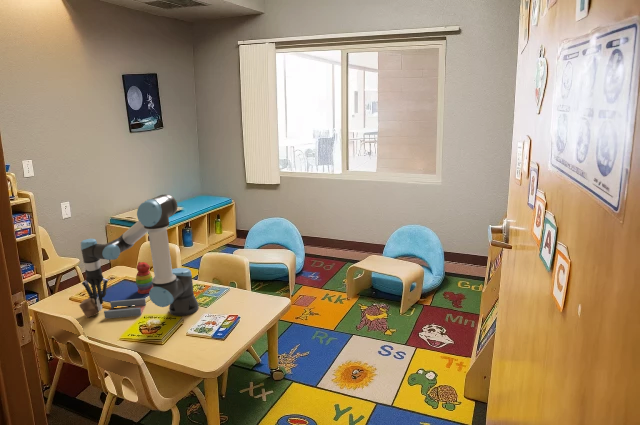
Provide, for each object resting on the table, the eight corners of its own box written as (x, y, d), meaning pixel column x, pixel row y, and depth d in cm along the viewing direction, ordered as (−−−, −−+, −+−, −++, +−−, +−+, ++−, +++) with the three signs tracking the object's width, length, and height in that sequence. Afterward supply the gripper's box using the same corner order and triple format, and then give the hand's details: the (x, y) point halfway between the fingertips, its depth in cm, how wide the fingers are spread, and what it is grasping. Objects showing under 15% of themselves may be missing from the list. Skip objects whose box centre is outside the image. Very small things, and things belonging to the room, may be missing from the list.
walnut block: (101, 308, 249) (93, 295, 246) (97, 313, 243) (89, 300, 241) (91, 312, 249) (83, 300, 246) (86, 317, 243) (79, 305, 241)
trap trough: (146, 304, 255) (145, 298, 254) (140, 315, 243) (139, 308, 242) (112, 307, 253) (110, 301, 252) (105, 318, 241) (103, 311, 240)
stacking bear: (158, 290, 274) (155, 262, 269) (142, 295, 267) (138, 267, 262) (150, 285, 281) (146, 257, 276) (134, 290, 274) (129, 262, 269)
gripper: (108, 264, 244) (114, 305, 250) (82, 266, 242) (90, 307, 249) (103, 270, 237) (110, 311, 243) (77, 272, 235) (85, 313, 242)
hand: (100, 309), depth 246 cm, fingers closed
